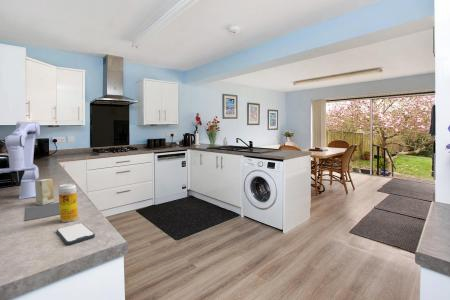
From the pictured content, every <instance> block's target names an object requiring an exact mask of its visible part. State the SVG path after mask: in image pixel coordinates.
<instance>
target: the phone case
mask: <svg viewBox="0 0 450 300" xmlns="http://www.w3.org/2000/svg"><path fill="white" fill-rule="evenodd" d="M56 233H57V235H58V236H59V237H60V239H61V240H62V242H63V243H64V244H65V245H66V246H73V245H75V244H78V243H81V242H85V241H89V240H91V239H94V238H95V237H96V235H95V233H94V232H93V230H91V229H90V228H89V227H87V226H86V225H85V224H84V223H75V224H71V225H67V226H64V227H59V228H57V229H56Z"/></svg>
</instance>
